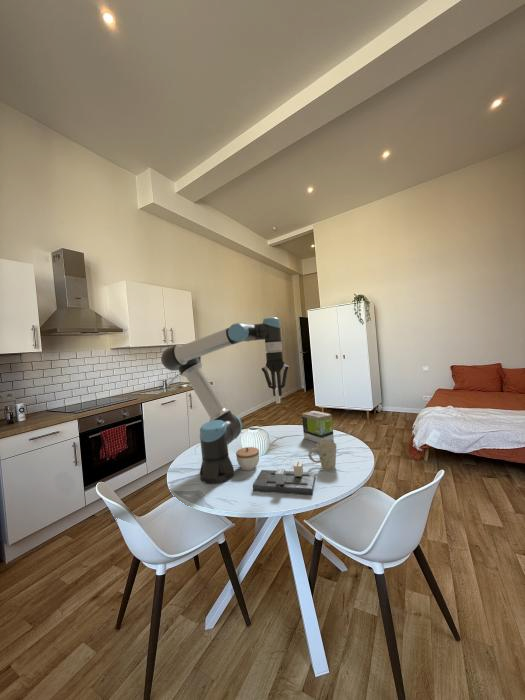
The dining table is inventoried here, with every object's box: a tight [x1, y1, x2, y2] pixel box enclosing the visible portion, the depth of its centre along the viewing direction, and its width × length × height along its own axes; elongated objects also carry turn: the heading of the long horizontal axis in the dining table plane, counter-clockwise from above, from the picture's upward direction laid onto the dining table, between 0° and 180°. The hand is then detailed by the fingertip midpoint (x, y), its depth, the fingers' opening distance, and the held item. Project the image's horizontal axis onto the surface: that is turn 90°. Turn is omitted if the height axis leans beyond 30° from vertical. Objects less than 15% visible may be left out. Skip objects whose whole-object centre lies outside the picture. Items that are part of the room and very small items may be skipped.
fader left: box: [293, 461, 304, 476], centre depth 114 cm, size 3×4×4 cm
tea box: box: [301, 410, 335, 444], centre depth 160 cm, size 15×10×15 cm, turn 32°
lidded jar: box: [235, 446, 260, 471], centre depth 130 cm, size 11×11×9 cm
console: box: [252, 469, 316, 496], centre depth 112 cm, size 23×13×3 cm, turn 74°
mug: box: [308, 441, 337, 471], centre depth 125 cm, size 8×13×10 cm, turn 78°
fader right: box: [275, 468, 286, 484], centre depth 109 cm, size 3×4×4 cm
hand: (278, 402), depth 128 cm, fingers closed
